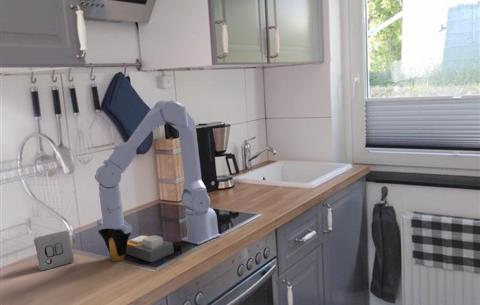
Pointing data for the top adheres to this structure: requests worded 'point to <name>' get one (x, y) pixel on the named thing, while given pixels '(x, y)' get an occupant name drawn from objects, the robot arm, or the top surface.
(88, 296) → the top surface
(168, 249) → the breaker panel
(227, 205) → the top surface
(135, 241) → the tagged button
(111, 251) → the cap
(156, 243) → the button
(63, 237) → the electrical switch
